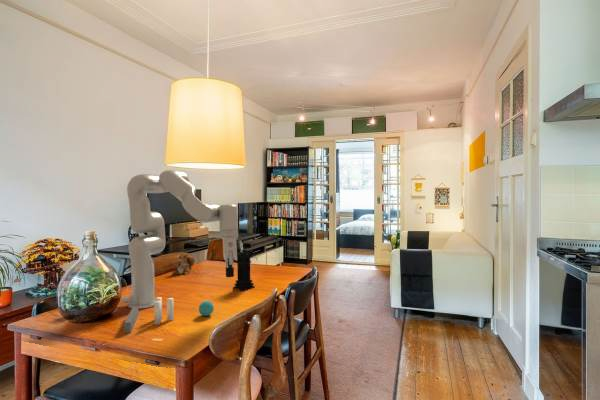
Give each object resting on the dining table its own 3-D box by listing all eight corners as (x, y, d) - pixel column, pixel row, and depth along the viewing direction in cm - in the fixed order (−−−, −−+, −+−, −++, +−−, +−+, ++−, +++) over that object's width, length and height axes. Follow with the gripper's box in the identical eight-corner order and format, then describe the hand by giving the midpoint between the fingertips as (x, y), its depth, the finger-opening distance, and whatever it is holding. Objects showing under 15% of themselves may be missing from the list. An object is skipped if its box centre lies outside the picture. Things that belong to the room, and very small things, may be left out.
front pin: (167, 321, 131) (166, 299, 131) (167, 319, 133) (167, 298, 133) (173, 320, 132) (173, 299, 132) (173, 318, 134) (173, 297, 134)
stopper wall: (124, 333, 119) (124, 322, 119) (133, 316, 137) (132, 306, 136) (130, 332, 120) (130, 322, 120) (138, 315, 137) (138, 306, 137)
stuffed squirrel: (171, 274, 209) (170, 254, 209) (184, 269, 223) (184, 250, 222) (184, 275, 206) (184, 254, 206) (197, 270, 220) (197, 251, 220)
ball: (199, 318, 133) (198, 304, 133) (198, 313, 139) (198, 299, 139) (214, 317, 135) (214, 302, 135) (213, 312, 141) (213, 298, 141)
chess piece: (244, 285, 183) (244, 249, 183) (254, 287, 178) (254, 250, 178) (233, 288, 177) (233, 251, 177) (243, 290, 172) (242, 252, 172)
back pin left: (155, 320, 132) (155, 299, 132) (156, 318, 134) (155, 297, 134) (161, 319, 133) (161, 298, 133) (162, 317, 135) (162, 296, 135)
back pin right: (154, 324, 127) (153, 303, 127) (154, 322, 130) (154, 301, 130) (160, 324, 128) (160, 302, 128) (161, 321, 130) (161, 300, 130)
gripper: (240, 234, 134) (241, 279, 134) (235, 231, 148) (236, 272, 148) (221, 236, 131) (222, 281, 131) (218, 232, 145) (219, 273, 146)
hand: (229, 276), depth 140 cm, fingers closed
